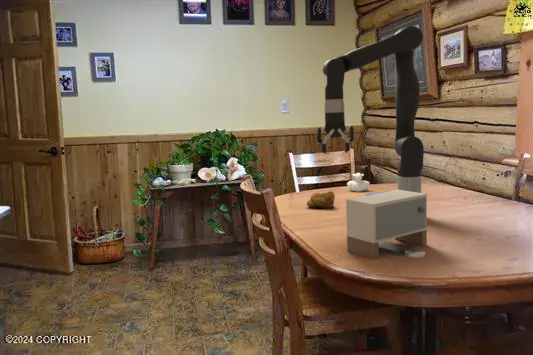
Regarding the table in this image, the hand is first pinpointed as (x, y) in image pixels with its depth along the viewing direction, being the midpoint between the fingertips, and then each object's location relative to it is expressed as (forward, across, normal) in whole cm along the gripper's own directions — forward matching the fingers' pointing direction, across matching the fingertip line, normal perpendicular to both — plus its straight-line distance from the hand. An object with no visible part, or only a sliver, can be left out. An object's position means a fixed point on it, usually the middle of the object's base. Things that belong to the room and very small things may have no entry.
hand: (335, 153), depth 199 cm
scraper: (+28, +8, -37) cm, 47 cm away
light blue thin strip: (+29, +35, +45) cm, 64 cm away
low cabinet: (+28, +9, -38) cm, 48 cm away
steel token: (+28, +15, -48) cm, 58 cm away
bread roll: (+28, -1, +33) cm, 44 cm away
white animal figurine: (+28, +25, +69) cm, 79 cm away
